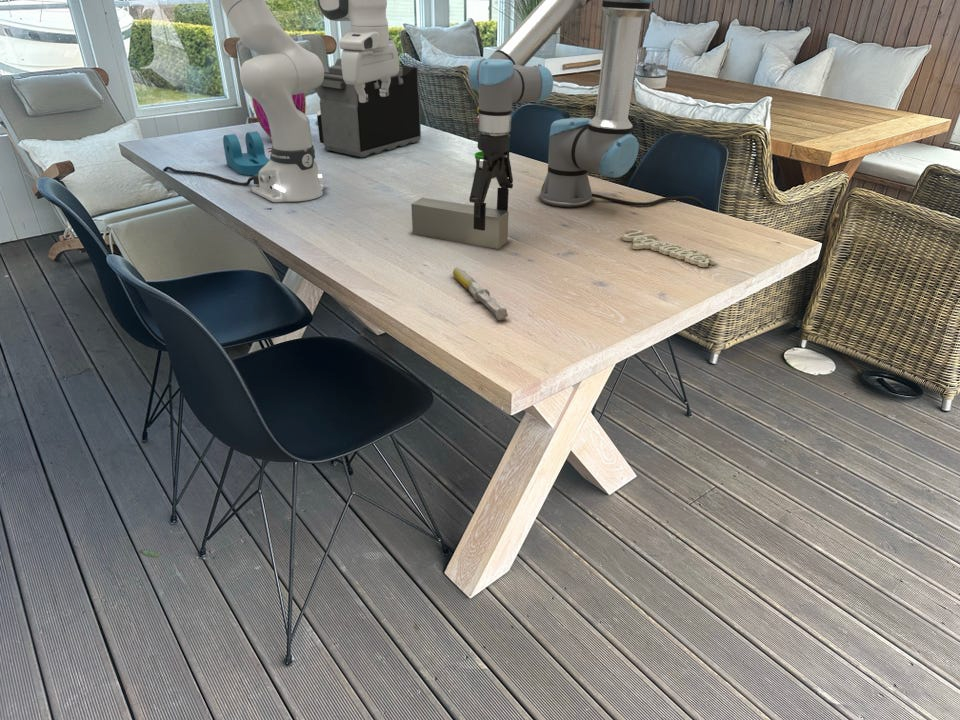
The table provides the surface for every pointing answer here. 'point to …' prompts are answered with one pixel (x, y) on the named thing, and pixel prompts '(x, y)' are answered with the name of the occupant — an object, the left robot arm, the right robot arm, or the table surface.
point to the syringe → (479, 293)
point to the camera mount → (245, 161)
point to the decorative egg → (262, 118)
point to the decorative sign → (667, 248)
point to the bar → (458, 223)
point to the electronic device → (368, 113)
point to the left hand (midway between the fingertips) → (374, 99)
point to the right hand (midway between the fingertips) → (491, 221)
